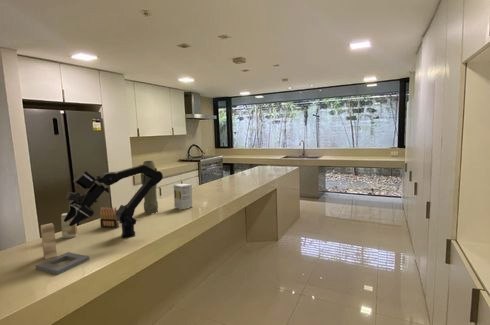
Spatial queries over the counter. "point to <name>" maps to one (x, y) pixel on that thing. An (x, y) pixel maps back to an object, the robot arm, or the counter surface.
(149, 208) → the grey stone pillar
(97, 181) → the robot arm
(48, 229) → the maple peg
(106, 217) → the ammunition clip
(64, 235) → the skincare box
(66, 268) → the socket board
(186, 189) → the supplement box
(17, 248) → the counter surface
